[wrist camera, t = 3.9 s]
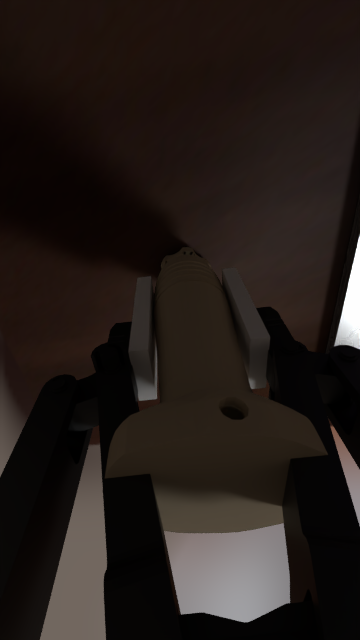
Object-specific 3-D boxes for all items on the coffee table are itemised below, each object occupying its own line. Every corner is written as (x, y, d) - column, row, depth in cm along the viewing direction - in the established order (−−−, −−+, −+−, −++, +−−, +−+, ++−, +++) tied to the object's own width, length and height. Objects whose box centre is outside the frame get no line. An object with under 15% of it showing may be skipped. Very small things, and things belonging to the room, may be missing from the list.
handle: (137, 228, 20) (101, 431, 7) (238, 237, 20) (367, 438, 8) (134, 296, 22) (103, 534, 10) (223, 302, 23) (303, 532, 10)
